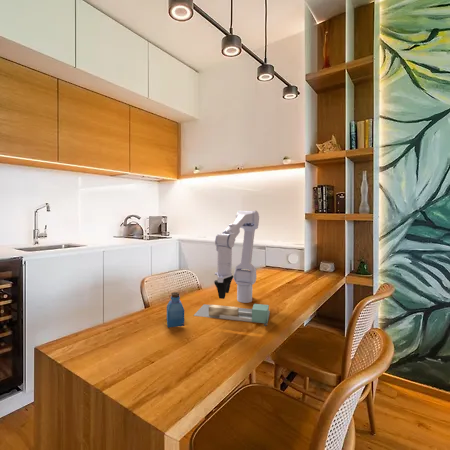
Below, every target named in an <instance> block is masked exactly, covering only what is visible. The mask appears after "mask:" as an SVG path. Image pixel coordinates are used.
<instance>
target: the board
mask: <svg viewBox="0 0 450 450" xmlns="http://www.w3.org/2000/svg"><path fill="white" fill-rule="evenodd" d="M210 305H211V304H205V303H204V304H203V305H202V306H201V307H199V309H198V310H197V311H196V312H195V313H194V315H193V317H204V318H210V319H211V318H212V319H219V320H228V321H229V320H230V321H237V322H238V321H239V322H248V323H257V324H263V327H267V326H268V322H269V319H270V314H271V311H270V310H269V309H270V305H269V304H260V303H254V304H253V306H252V308H244V307H239V316H229V315H220V316H211V315H209V306H210Z"/></svg>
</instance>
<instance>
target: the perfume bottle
mask: <svg viewBox="0 0 450 450" xmlns="http://www.w3.org/2000/svg"><path fill="white" fill-rule="evenodd" d="M170 294H171V296H170V300H169V301H168V303H167V304H166V321H167V322H166V324H167V328H176V327H177V328H178V327H185V308H184V306H183V303H182V301H181V300H180V299H181V296H180V292H179V291H178V292H177V291H174V292H171V293H170Z"/></svg>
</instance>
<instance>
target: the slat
mask: <svg viewBox="0 0 450 450" xmlns="http://www.w3.org/2000/svg"><path fill="white" fill-rule="evenodd" d="M209 305H210V306H209V315H211V316H220V315H229V316H239V308H240V307H239V306H230V305H229V306H228V305H220V304H209Z"/></svg>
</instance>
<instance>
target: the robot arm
mask: <svg viewBox="0 0 450 450" xmlns="http://www.w3.org/2000/svg"><path fill="white" fill-rule="evenodd" d="M259 223H260V214H259V212H258V211H257V210H240V209H238V210H237V212H236V215H235V219H234V222H232V223H229V224H228V225H227V227H225V229H224V230H223V231H222V232H219V233H218V234H217V235H216V236H215V240H214V244H215V248H216V249H215V250H216V251H217V271H216V272H214V276H217V279H216V280H214V281H213V283H214V285H215V287H216V290H217V293H218V298H219V299H222V300H224V299H226V294H229V293H230V288H231V284H232V280H234V283H235V284H236V285H237V286H236V291H237V292H236V300H237V302H239V303H245V304H246V303H252V301H253V285H254V284H256V282H257V269H256V267H255V266H254V265H253V264H252V261H253V260H252V258H253V252H254V251H253V249H254V242H255V241H254V239H255V232H256V230H258V228H259ZM240 229H243V232H244V234H243V242H242V251H241V258H240V263H239V264H237V265H236V266H235V269H234V272H233V273H232V265H233V264H232V259H233V258H232V257H233V256H232V255H233V251H232V250H233V249H232V248H233V247H234V246H235V242H236V238H237V237H238V236H239V234H240V232H241V230H240Z"/></svg>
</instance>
